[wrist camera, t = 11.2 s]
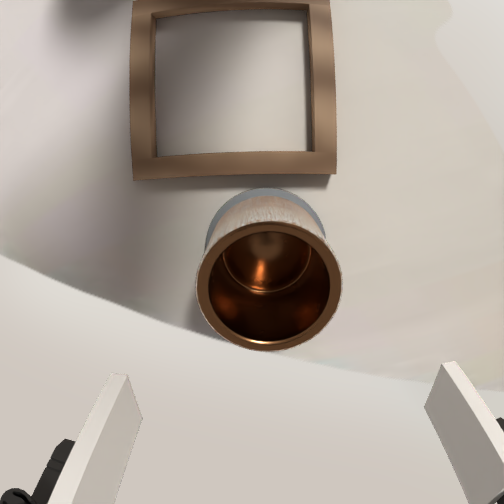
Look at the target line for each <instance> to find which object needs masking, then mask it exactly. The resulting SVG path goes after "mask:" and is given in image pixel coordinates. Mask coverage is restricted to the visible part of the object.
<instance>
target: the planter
mask: <svg viewBox="0 0 504 504" xmlns="http://www.w3.org/2000/svg"><path fill="white" fill-rule="evenodd" d="M195 290H196V298H197V302H198V305H199V308H200V311H201V313H202V315H203V317H204V318H205V320H206V321H207V323H208V324H209V325H210V326H211V328H212V329H213V330H214V331H215V332H216V333H218V334H219V335H220V336H221V337H223V338H224V339H226V340H227V341H229V342H231V343H233V344H235V345H237V346H239V347H242V348H245V349H249V350H254V351H263V352H273V351H282V350H287V349H290V348H294V347H296V346H299V345H301V344H303V343H305V342H307V341H309V340H311V339H312V338H314V337H315V336H316V335H318V334H319V333H320V332H321V331H322V330H323V329H324V328H325V327H326V326H327V325H328V324H329V322H330V321H331V319H332V318H333V316H334V315H335V313H336V311H337V309H338V306H339V304H340V300H341V296H342V290H343V279H342V272H341V268H340V265H339V262H338V260H337V257H336V255H335V253H334V252H333V250H332V249H331V247H330V245H329V244H328V242H327V240H326V239H325V237H324V235H323V234H322V232H321V230H320V229H319V227H318V225H317V224H316V222H315V221H314V219H313V218H312V217H311V215H310V214H309V213H308V212H307V211H306V210H305V209H303V208H302V207H301V206H299V205H298V204H296V203H294V202H292V201H290V200H287V199H284V198H281V197H276V196H258V197H253V198H249V199H246V200H244V201H242V202H240V203H238V204H236V205H235V206H233V207H232V208H230V209H229V210H228V211H227V212H226V213H225V214H224V215H223V216H222V217H221V219H220V220H219V221H218V223H217V225H216V227H215V229H214V231H213V233H212V236H211V238H210V241H209V243H208V246H207V248H206V250H205V252H204V255H203V257H202V259H201V262H200V264H199V267H198V270H197V275H196V282H195Z"/></svg>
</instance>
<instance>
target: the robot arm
mask: <svg viewBox="0 0 504 504" xmlns="http://www.w3.org/2000/svg"><path fill="white" fill-rule="evenodd" d="M424 408H425V410H426V412H427V414H428V416H429V418H430V420H431V422H432V424H433V426H434V428H435V430H436V432H437V434H438V436H439V438H440V440H441V442H442V445H443V447H444V449H445V451H446V453H447V455H448V457H449V459H450V462H451V463H452V466H453V468H454V470H455V473H456V475H457V477H458V479H459V482H460V484H461V486H462V488H463V491H464V493H465V495H466V498H467V500H468V503H469V504H495V503H496V502H497V504H504V419H502V418H498V419H495V418H494V416H493V415H492V413H491V412H490V410H489V409H488V407H487V406H486V404H485V403H484V401H483V400H482V398H481V397H480V395H479V394H478V392H477V391H476V389H475V388H474V387H473V385H472V384H471V382H470V381H469V379H468V378H467V377H466V375H465V374H464V372H463V371H462V370H461V368H460V367H459V366H458V364H457V363H456V361H452V362H447V363H442V364H441V367H440V370H439V372H438V375H437V377H436V380H435V382H434V385H433V387H432V390H431V392H430V394H429V397H428V399H427V401H426V403H425V406H424ZM141 421H142V415H141V413H140V410H139V407H138V404H137V402H136V399H135V396H134V393H133V390H132V387H131V384H130V381H129V377H128V375H125V374H117V373H111V374H110V376H109V378H108V380H107V382H106V383H105V386H104V387H103V389H102V391H101V393H100V395H99V397H98V399H97V401H96V402H95V404H94V406H93V408H92V410H91V412H90V414H89V416H88V418H87V420H86V422H85V424H84V426H83V428H82V430H81V432H80V434H79V436H78V438H77V440H76V442H75V441H71V440H68V439H64V440H63V441H62V442H61V443H60V444H59V445H58V446H57V447H56V448H55V450H54V452H53V454H52V456H51V459H50V460H49V462H48V464H47V468H45V470H44V472H43V474H42V476H41V478H40V480H39V482H38V484H37V487H36V488H35V490H34V493H33V495H32V496H30V495H29V494H27V493H26V492H25V491H24V490H21V489H19V488H14V489H13V488H12V489H10V490H7V491H6V492H5V493H4V494H3V495H2V497H1V500H0V504H114V503H115V500H116V496H117V493H118V490H119V487H120V484H121V481H122V478H123V475H124V471H125V468H126V465H127V462H128V459H129V456H130V453H131V450H132V447H133V444H134V442H135V439H136V435H137V433H138V430H139V427H140V424H141Z"/></svg>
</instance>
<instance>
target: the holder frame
mask: <svg viewBox="0 0 504 504" xmlns="http://www.w3.org/2000/svg"><path fill="white" fill-rule="evenodd" d="M246 9H287V10H307V23H308V39H309V58H310V81H311V117H312V152H308V151H259V152H225V153H204V154H188V155H175V156H162V157H157V145H156V120H155V35H156V19H158V18H164V17H170V16H177V15H184V14H192V13H201V12H212V11H225V10H246ZM130 132H131V153H132V168H133V181H135V180H147V179H160V178H174V177H191V176H211V175H238V174H336V166H337V124H336V85H335V64H334V47H333V33H332V21H331V10H330V0H136V1H133V8H132V22H131V41H130Z"/></svg>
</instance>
